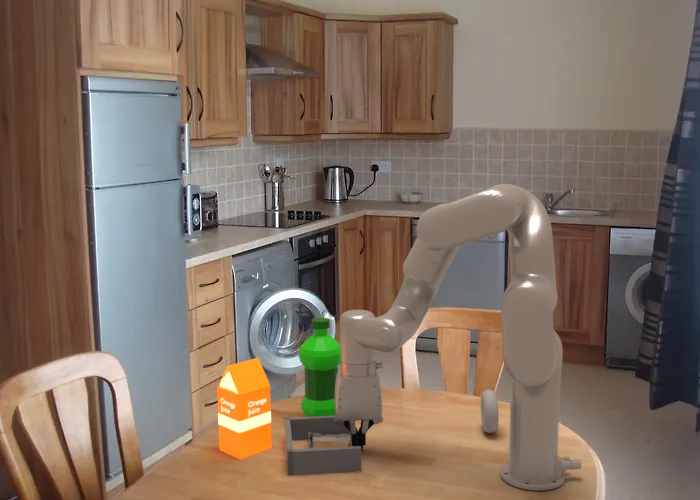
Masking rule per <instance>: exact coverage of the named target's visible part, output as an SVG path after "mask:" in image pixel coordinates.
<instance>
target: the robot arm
mask: <svg viewBox="0 0 700 500" xmlns="http://www.w3.org/2000/svg"><path fill="white" fill-rule="evenodd" d="M546 209H547V208H545V206H544V204H543V203H542V202H541V201H540V199H539V198H538V197H537V196H535V195H534V194H533V193H532V192H530V191H529V190H527V189H525V188H523V187H521V186H518V185H516V184H510V183H500V184H496V185H493V186H491V187H489V188H486V189H484V190H483V191H482V190H481V191H480V192H476V193H473V194H470V195H468V196H465V197H463V198H460V199H457V200H454V201H451V202H449V203H448V202H447V203H441V204H438V205H435V206H433V207H431V208H428V209H426V210H424V212H423V213H422V214H421V215H420V217H419V219H418V221H417V224H416V235H417V236H416V237H417V238H416V239H415V242H414V243H413V245H412V247H411V249H410V251H409V253H408V254H407V256H406V258H405V260H404V262H403V265H402V272H403V282H402V285H401V287H400V290H398V291H399V292H398V294H397V295H396V298H395V299H394V301H393V303H392V305H391V307H390V308H389V310H388V311H387V312H386V313H384V314H382V315H380V316H377V317H376V316H375V314H374V313H373V312H371V311H369V310H366V309H350V310H347V311H344V312H343V313H341V315H340V318H339V319H340V321H339V332H340V333H339V336H340V337H339V340H340V343H339V344H340V359H341V363H340V371H338V373H337V377H336V383H335V398H334V409H335V417H334V424H336V425H340V426H345V427H346V428H347V429H348V430H349V431H350V432H351V447H352V446H361V452H364V447H366V446H367V443H366V442H367V438H366V436H367V433H368V431H369V429H371V427H373V426H374V425H377V424H380V423H383V422H384V417H383V400H382V398H383V397H382V387H381V379H380V374H379V372H378V371H377V370H378V369H382V368H383V362H382V361H378V360H377V359H376V351H379V352H383V353H393V352H396V351H398V350H400V349H401V348H402V347H403V346H404V345H405V344H406V343H407V342H408V341H410V340H411V339H412V338H413V337H414V336H415V334H416V333H417V331H418V329H419V328H420V327H421V324H422V322H423V321H424V319H425V317H426V315H427V313H428V312H429V309H430V308H431V305H432V303H433V300H434V298H435V297H436V294H437V293H438V290H439V288H440V285H441V283H442V281H443V279H444V277H445V275H446V273H447V272H448V269H449V267H450V266H451V265H452V262H453V260H454V258H455V256H456V255H457V253H458V251H459V249H460V247H461V246H465V245H468V244H471V243H473V242H476V241H479V240H483V239H486V238H489V237H492V236H495V235H498V234H501V233H503V232H505V231H506V232H507V233H508V239H509V242H508V243H509V244H508V255H509V264H510V265H509V266H510V268H509V271H510V279H509V280H510V281H509V282H510V283H509V285H508V286H507V287H506V289H505V291H504V292H503V295H502V298H501V302H500V320H501V321H500V324H501V341H502V357H503V358H502V359H503V365H504V368H505V371H506V373H507V374H508V376H509V377H510V378H511V384H510V402H509V404H510V407H509V409H510V412H509V444H508V445H509V449H508V450H509V453H508V462H507V463H505V464H503V465H502V466H501V469H500V476H501V478H502V480H504V482H505V483H507V484H509V485H511V486H512V487H514V488H515V487H516V488H519V489H523V490H527V491H537V492H538V491H550V490H554V489H557V488H559V487H561V486H562V485H563V484H564V483H565V477H566V475H565V472H566V471H567V470H573V471H574V470H581V469H582V462H581V460H580V459H571V456H570V455H569V456H568V455H567V456H559V454H558V449H559V447H558V446H559V427H560V426H559V425H560V424H559V420H560V418H559V417H560V403H561V402H560V401H561V399H560V398H561V397H560V396H561V380H562V369H563V368H562V367H563V356H564V354H563V353H564V352H563V348H564V347H563V344H562V340H561V338H560V336H559V334H558V333H557V332H556V331H555V329H554V311H555V309H556V307H557V303H558V289H557V280H556V279H557V278H556V263H555V262H556V261H555V260H556V259H555V251H554V249H555V248H554V238H553V229H552V222H551V219H550V216H549V214H548V212H547V210H546ZM356 421H361V422H360V426H359V428H357V426H356Z"/></svg>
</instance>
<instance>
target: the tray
mask: <svg viewBox="0 0 700 500" xmlns="http://www.w3.org/2000/svg"><path fill="white" fill-rule="evenodd" d="M334 417H335V416H314V417H306V416H297V417H296V416H294V417H284V441H285V443H284V445H285V457H286V471H287V472H286V473H287V476H295V475H301V476H302V475H317V474H335V473H337V474H338V473H352V472H353V473H355V472H357V473H358V472H362V451H361V446H352V445H351V446H350V447H348V446H339V447H338V446H337V447H334V446H333V447H317V448H316V447H315V448H314V447H312V449H310V448H297V449H295V448H293V441H309V439H310V438H309V434H308V433H309V432H311V433H315V434H316V433H318V434H321V435H322V436H323V437H324V436H325V435H330V434H332V435H335V436H337V435H341V434H346V435H350V436H351V432H350V431H349V430H348V429H347V428H346V427H345V426H340V425H336V424H334Z"/></svg>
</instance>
